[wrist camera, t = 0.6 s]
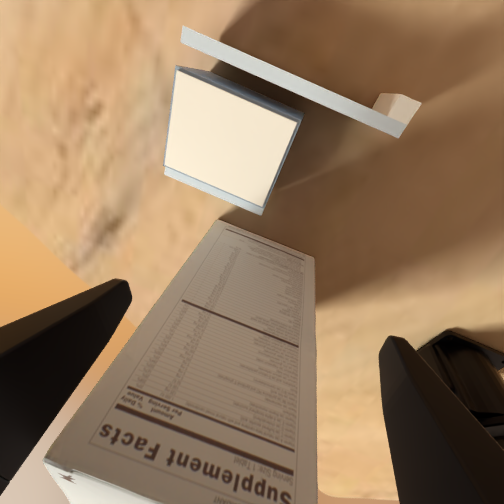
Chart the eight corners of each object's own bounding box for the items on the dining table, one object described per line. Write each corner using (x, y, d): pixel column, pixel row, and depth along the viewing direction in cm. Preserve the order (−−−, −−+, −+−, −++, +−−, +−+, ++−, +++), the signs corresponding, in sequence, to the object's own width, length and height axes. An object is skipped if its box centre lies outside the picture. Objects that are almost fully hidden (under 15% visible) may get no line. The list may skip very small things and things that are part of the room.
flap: (396, 100, 14) (421, 103, 11) (379, 127, 15) (398, 138, 11) (217, 20, 14) (186, -2, 10) (210, 53, 14) (180, 42, 11)
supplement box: (196, 287, 26) (64, 506, 12) (215, 215, 21) (20, 458, 7) (278, 321, 26) (238, 574, 12) (319, 257, 21) (326, 579, 7)
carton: (304, 113, 15) (301, 120, 12) (271, 192, 19) (259, 219, 15) (209, 71, 15) (174, 64, 11) (192, 158, 18) (160, 176, 15)
